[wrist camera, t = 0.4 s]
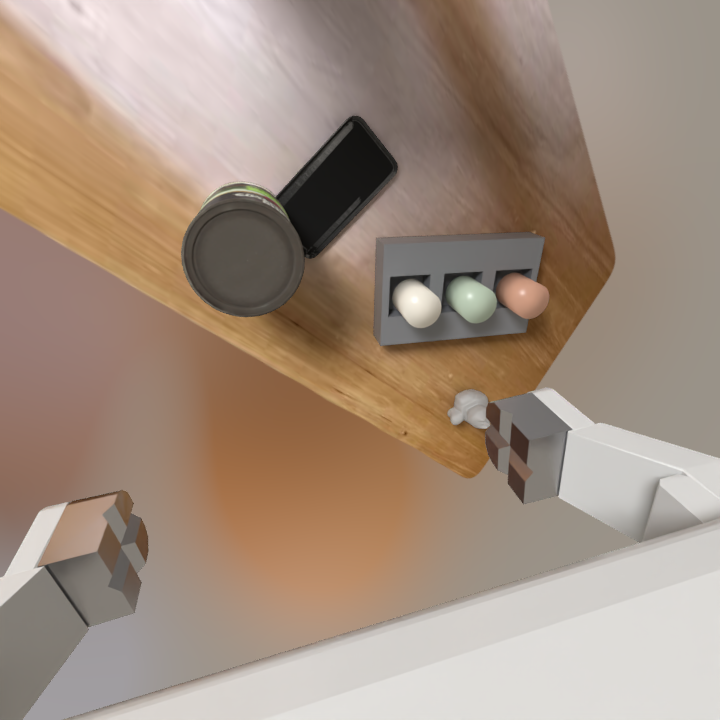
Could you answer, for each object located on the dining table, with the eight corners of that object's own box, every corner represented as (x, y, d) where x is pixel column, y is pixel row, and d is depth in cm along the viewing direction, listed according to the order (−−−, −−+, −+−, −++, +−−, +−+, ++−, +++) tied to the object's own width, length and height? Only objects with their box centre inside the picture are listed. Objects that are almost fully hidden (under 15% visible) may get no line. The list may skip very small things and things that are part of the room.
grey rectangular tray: (376, 237, 54) (384, 244, 51) (529, 231, 58) (545, 237, 55) (373, 334, 60) (380, 345, 57) (512, 322, 64) (525, 332, 61)
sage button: (447, 276, 55) (464, 289, 50) (479, 274, 56) (499, 286, 51) (443, 309, 57) (460, 324, 52) (475, 307, 58) (493, 321, 53)
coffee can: (227, 160, 47) (221, 171, 34) (307, 218, 51) (327, 246, 39) (179, 241, 49) (157, 277, 37) (259, 290, 54) (264, 337, 42)
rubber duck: (484, 402, 70) (511, 431, 63) (448, 422, 70) (470, 453, 63) (474, 377, 67) (500, 405, 61) (436, 398, 68) (458, 428, 61)
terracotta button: (498, 273, 56) (519, 285, 52) (529, 271, 57) (552, 283, 53) (493, 306, 58) (513, 320, 54) (523, 303, 59) (545, 317, 55)
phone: (260, 214, 49) (356, 110, 47) (260, 213, 50) (354, 110, 48) (310, 263, 53) (402, 168, 50) (309, 260, 54) (399, 168, 51)
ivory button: (393, 279, 53) (406, 293, 49) (427, 277, 54) (443, 290, 50) (391, 313, 55) (403, 329, 51) (424, 311, 56) (439, 326, 52)
